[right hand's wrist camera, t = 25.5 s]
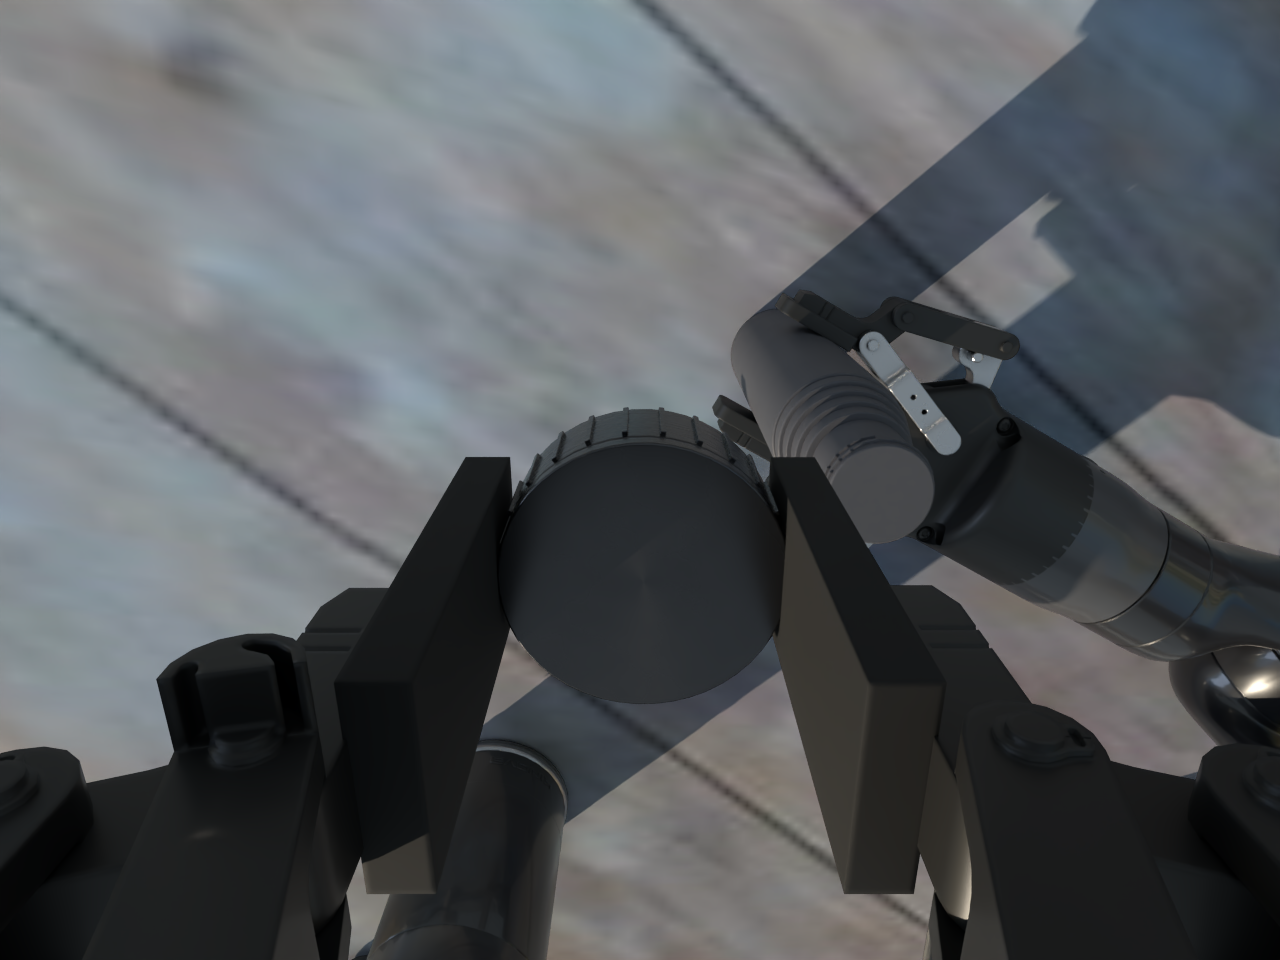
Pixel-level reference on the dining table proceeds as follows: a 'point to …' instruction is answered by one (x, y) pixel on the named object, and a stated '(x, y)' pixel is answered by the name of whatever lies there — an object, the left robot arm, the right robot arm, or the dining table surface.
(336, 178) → the dining table surface
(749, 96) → the dining table surface
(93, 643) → the dining table surface
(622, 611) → the cap
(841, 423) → the bottle
